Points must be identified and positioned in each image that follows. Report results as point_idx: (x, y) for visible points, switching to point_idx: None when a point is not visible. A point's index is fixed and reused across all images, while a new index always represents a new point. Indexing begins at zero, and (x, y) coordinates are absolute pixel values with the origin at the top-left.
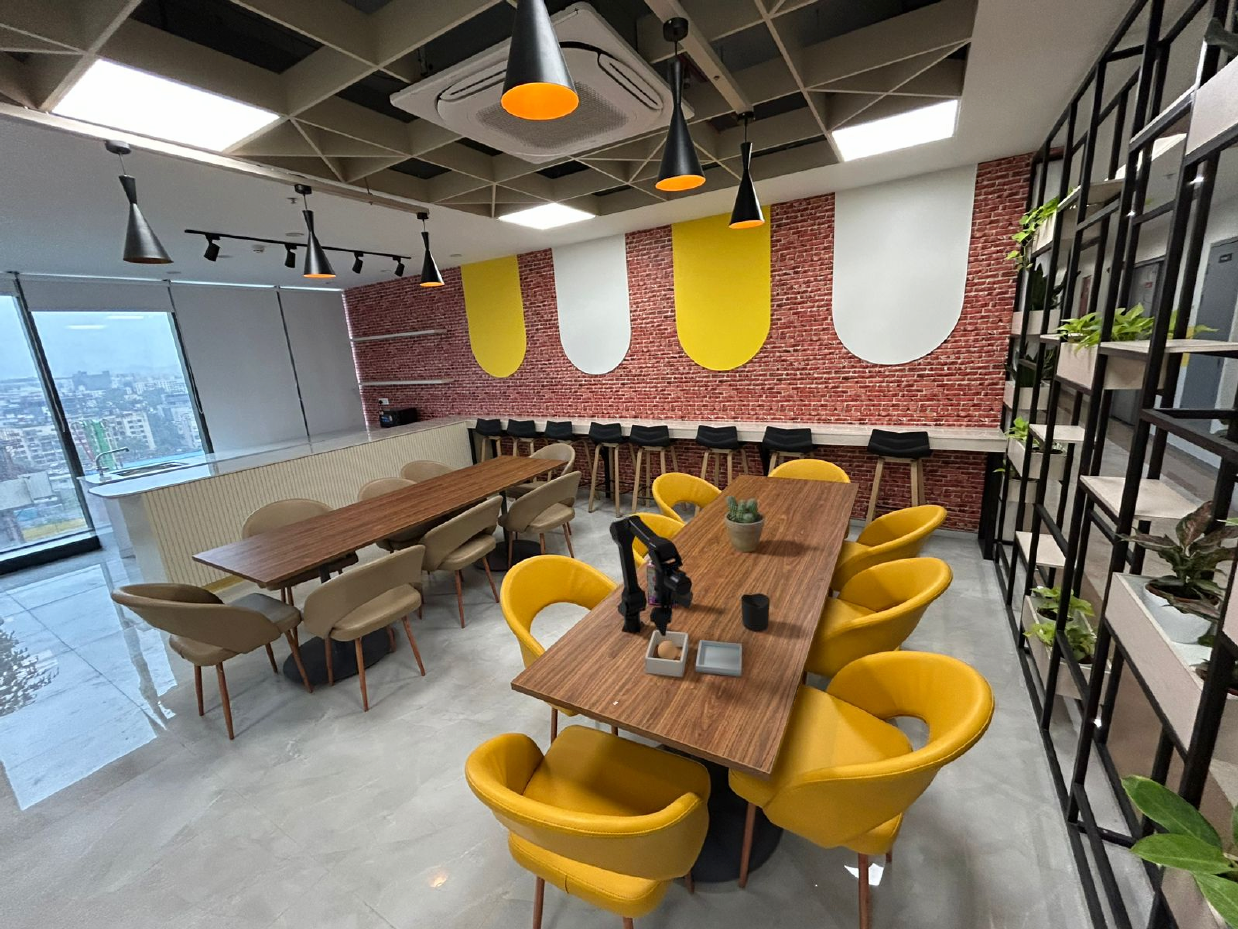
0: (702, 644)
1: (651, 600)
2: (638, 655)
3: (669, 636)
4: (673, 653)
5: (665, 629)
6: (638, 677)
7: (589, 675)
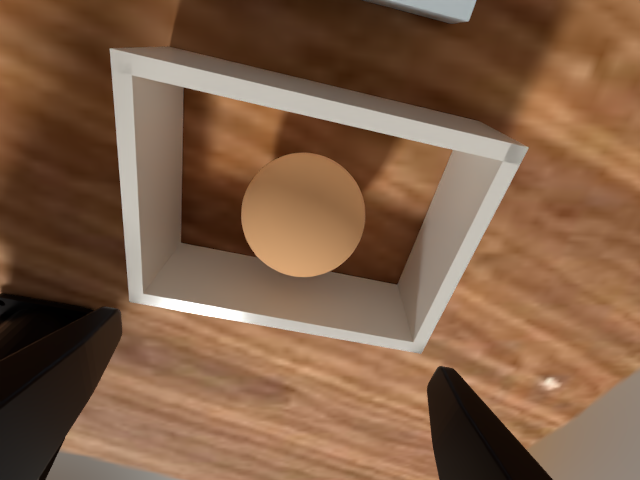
0: None
1: None
2: None
3: (152, 198)
4: (352, 187)
5: (535, 474)
6: None
7: (385, 442)
